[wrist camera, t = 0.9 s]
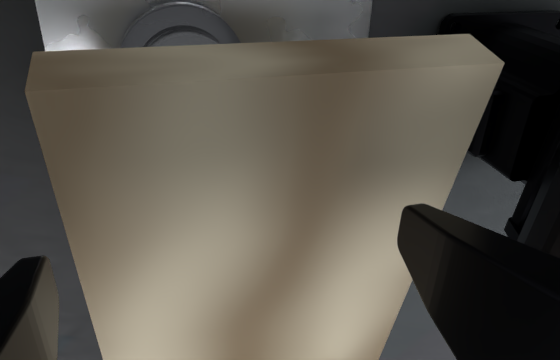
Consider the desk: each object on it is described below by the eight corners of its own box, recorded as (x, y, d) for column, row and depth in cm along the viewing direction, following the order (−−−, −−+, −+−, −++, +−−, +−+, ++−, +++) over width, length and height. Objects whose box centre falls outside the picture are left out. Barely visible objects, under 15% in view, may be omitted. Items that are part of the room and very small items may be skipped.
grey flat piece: (367, -59, 19) (418, -50, 16) (321, 377, 31) (344, 431, 28) (27, -64, 16) (4, -53, 13) (124, 421, 28) (125, 488, 25)
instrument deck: (469, 33, 12) (545, 95, 10) (332, 416, 27) (351, 474, 25) (32, 51, 10) (15, 138, 8) (141, 464, 24) (145, 532, 22)
